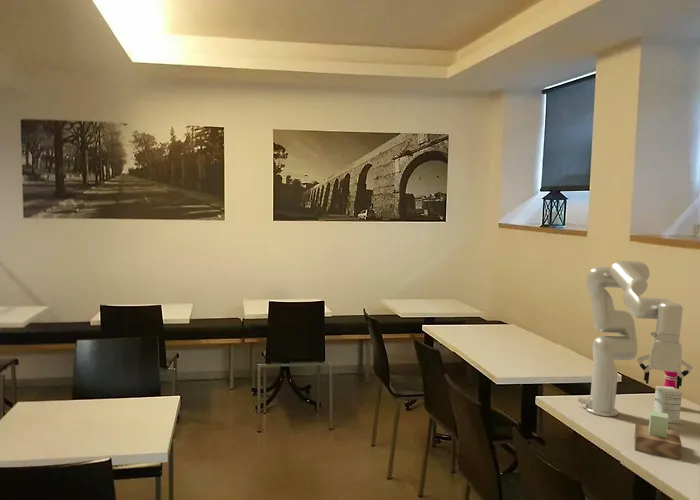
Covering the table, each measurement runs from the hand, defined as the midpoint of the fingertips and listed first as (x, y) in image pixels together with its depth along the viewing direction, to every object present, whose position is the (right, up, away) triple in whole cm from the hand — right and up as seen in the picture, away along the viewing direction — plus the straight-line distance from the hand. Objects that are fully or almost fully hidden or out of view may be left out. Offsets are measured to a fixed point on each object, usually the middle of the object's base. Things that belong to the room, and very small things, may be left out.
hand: (662, 385), depth 215 cm
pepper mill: (+28, -20, +50) cm, 61 cm away
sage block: (-1, -17, +1) cm, 18 cm away
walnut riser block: (-1, -22, +2) cm, 23 cm away
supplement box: (+18, -21, +32) cm, 43 cm away
